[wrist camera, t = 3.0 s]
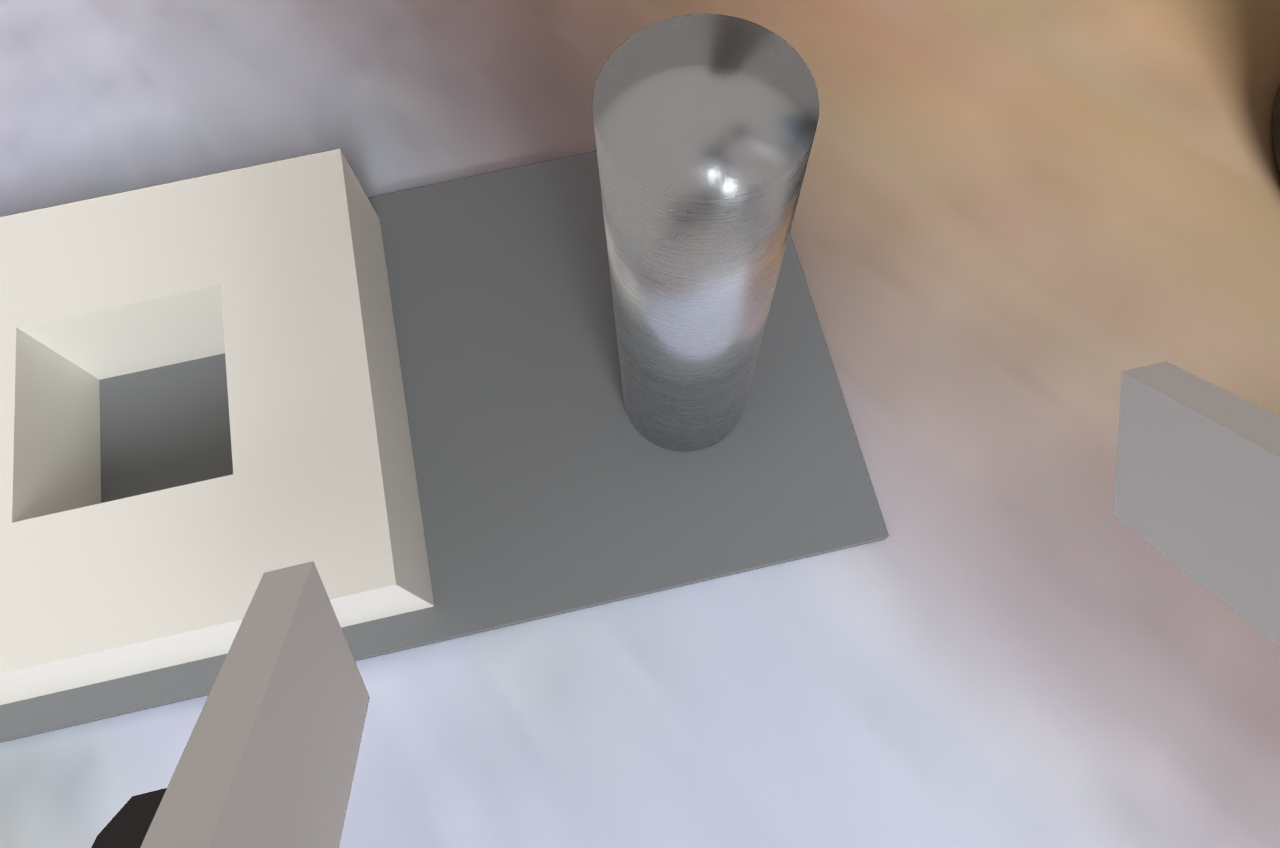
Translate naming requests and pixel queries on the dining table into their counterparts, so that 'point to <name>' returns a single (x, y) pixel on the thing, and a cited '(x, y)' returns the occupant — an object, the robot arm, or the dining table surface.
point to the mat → (522, 434)
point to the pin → (698, 212)
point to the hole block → (258, 411)
